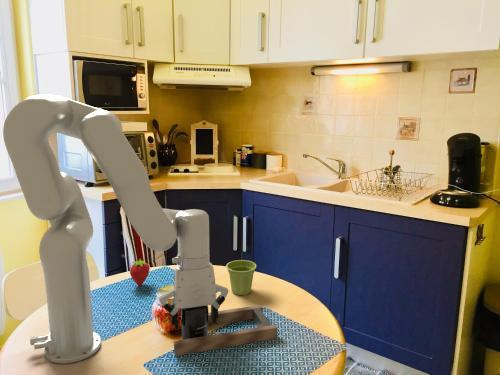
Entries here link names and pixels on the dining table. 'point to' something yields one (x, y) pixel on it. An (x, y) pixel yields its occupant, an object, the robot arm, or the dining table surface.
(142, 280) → the strawberry
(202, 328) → the supplement bottle
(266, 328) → the channel
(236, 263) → the plant pot
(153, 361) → the dining table surface
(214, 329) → the dining table surface
